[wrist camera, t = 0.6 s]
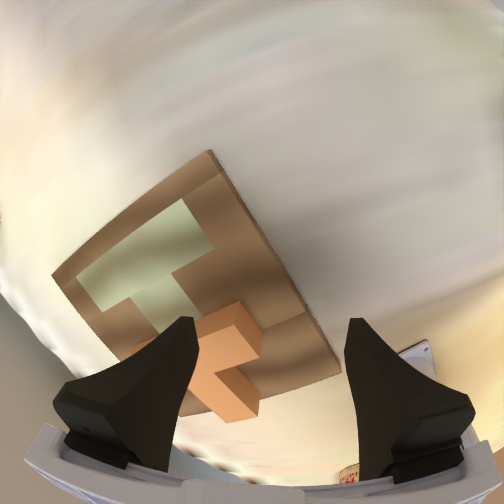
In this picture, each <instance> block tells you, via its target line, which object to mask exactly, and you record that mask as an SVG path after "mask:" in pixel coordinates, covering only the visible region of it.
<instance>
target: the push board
mask: <svg viewBox="0 0 504 504" xmlns="http://www.w3.org/2000/svg"><path fill="white" fill-rule="evenodd" d="M51 276H52V277H53V279H54V280H55V282H56V283H57V285H58V286H59V287H60V289H61V290H62V292H63V293H64V294H65V296H66V297H67V298H68V300H69V301H70V302H71V304H72V305H73V306H74V308H75V309H76V310H77V312H78V313H79V314H80V315H81V317H82V318H83V319H84V320H85V322H86V323H87V324H88V325H89V326H90V328H91V329H92V330H93V331H94V332H95V334H96V335H97V336H98V337H99V338H100V339H101V341H102V342H103V343H104V344H105V345H106V346H107V347H108V348H109V350H110V351H111V352H112V353H113V354H114V355H115V356H116V357H117V358H118V359H119V360H120V361H123V360H125V359H126V358H128V357H130V355H131V353H132V352H133V350H134V348H135V347H136V345H138V344H140V343H143V342H145V341H147V340H150V339H152V338H155V337H157V336H158V335H160V334H161V333H162V332H163V331H164V330H165V329H167V328H168V327H169V326H170V325H171V324H172V323H173V322H175V321H176V320H177V319H178V318H179V317H181V316H189V317H193V318H194V321H195V320H197V319H200V318H202V317H204V316H206V315H209V314H211V313H213V312H216V311H218V310H220V309H222V308H225V307H227V306H229V305H231V304H233V303H236V302H238V301H240V302H241V304H242V305H243V306H244V308H245V309H246V311H247V312H248V313H249V315H250V316H251V317H252V319H253V320H254V322H255V323H256V324H257V326H258V327H259V328H260V330H261V331H262V340H261V350H260V358H257V359H254V360H251V361H248V362H245V363H242V364H239V365H236V367H237V368H238V370H239V371H240V372H241V373H242V374H243V375H244V376H245V377H246V378H247V380H248V381H249V382H250V383H251V384H252V385H253V386H254V387H255V388H256V389H257V390H258V391H259V393H260V399H259V400H261V399H265V398H268V397H272V396H275V395H278V394H282V393H285V392H288V391H291V390H294V389H298V388H301V387H304V386H306V385H309V384H312V383H315V382H318V381H321V380H323V379H326V378H329V377H332V376H334V375H337V374H339V373H342V371H341V365H340V363H339V361H338V359H337V357H336V356H335V354H334V352H333V350H332V349H331V347H330V345H329V344H328V342H327V340H326V338H325V337H324V335H323V333H322V332H321V330H320V328H319V326H318V325H317V323H316V321H315V320H314V318H313V316H312V315H311V313H310V311H309V309H308V308H307V306H306V304H305V303H304V301H303V299H302V298H301V296H300V294H299V293H298V291H297V289H296V288H295V286H294V284H293V283H292V281H291V279H290V278H289V276H288V274H287V273H286V271H285V269H284V268H283V266H282V264H281V263H280V261H279V259H278V258H277V256H276V254H275V253H274V251H273V249H272V248H271V246H270V244H269V243H268V241H267V239H266V238H265V236H264V235H263V233H262V231H261V230H260V228H259V226H258V225H257V223H256V221H255V220H254V218H253V217H252V215H251V213H250V212H249V210H248V209H247V207H246V205H245V204H244V202H243V200H242V199H241V197H240V196H239V194H238V192H237V191H236V189H235V188H234V186H233V184H232V183H231V181H230V180H229V178H228V176H227V175H226V173H225V172H224V170H223V168H222V167H221V165H220V164H219V162H218V161H217V159H216V157H215V156H214V154H213V153H212V151H211V150H208V151H205V152H204V153H202V154H201V155H199V156H198V157H196V158H195V159H193V160H192V161H190V162H189V163H187V164H186V165H185V166H183V167H182V168H180V169H179V170H177V171H176V172H174V173H173V174H172V175H170V176H169V177H167V178H166V179H165V180H163V181H162V182H161V183H159V184H158V185H156V186H155V187H154V188H152V189H151V190H150V191H148V192H147V193H146V194H144V195H143V196H142V197H140V198H139V199H138V200H137V201H135V202H134V203H133V204H131V205H130V206H129V207H128V208H126V209H125V210H124V211H123V212H121V213H120V214H119V215H118V216H116V217H115V218H114V219H113V220H112V221H110V222H109V223H108V224H107V225H106V226H104V227H103V228H102V229H101V230H100V231H99V232H97V233H96V234H95V235H94V236H93V237H92V238H90V239H89V240H88V241H87V242H86V243H85V244H84V245H83V246H81V247H80V248H79V249H78V250H77V251H76V252H75V253H74V254H73V255H72V256H71V257H69V258H68V259H67V260H66V261H65V262H64V263H63V264H62V265H61V266H60V267H59V268H58V269H57V270H56V271H55V272H54V273H53V274H52V275H51ZM211 411H212V410H211V409H210V408H209V407H207V406H206V405H205V404H204V403H203V402H202V401H201V400H200V399H199V398H198V397H197V396H195V395H194V394H193V393H192V392H191V391H190V390H189V389H188V388H187V391H186V394H185V396H184V399H183V401H182V404H181V407H180V410H179V414H178V416H179V417H185V416H190V415H196V414H201V413H206V412H211Z"/></svg>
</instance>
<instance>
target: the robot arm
mask: <svg viewBox="0 0 504 504" xmlns="http://www.w3.org/2000/svg"><path fill="white" fill-rule="evenodd" d="M425 348H426V349H425ZM199 350H200V348H199V343H198V338H197V333H196V328H195V323H194V318H193V317H189V316H181V317H179V318H178V319H177V320H176V321H175V322H173V323H172V324H171V325H170V326H169V327H168V328H167V329H165V330H164V331H163V332H162V333H161V334H160V335H158V336H157V337H156V338H155V339H154V340H152V341H151V342H150V343H148V344H147V345H146V346H144V347H143V348H142V349H140V350H139V351H137V352H136V353H135V354H133V355H131V356H130V357H128V358H126V359H125V360H123V361H121V362H120V363H118V364H116V365H113V366H111V367H109V368H107V369H105V370H103V371H101V372H98V373H96V374H93V375H90V376H87V377H84V378H81V379H77V380H73V381H70V382H66V383H65V384H64V386H63V387H62V388H61V390H60V391H59V393H58V394H57V396H56V397H55V399H54V400H53V406H54V409H55V411H56V412H57V414H58V415H59V416H60V418H61V419H62V420H63V421H64V423H65V424H66V425H67V426H68V427H69V429H70V431H69V433H68V434H67V433H65V432H64V431H62V430H61V429H59V428H56V427H54V426H52V425H50V424H48V423H45V424H44V425H43V427H42V428H41V430H40V432H39V433H38V435H37V436H36V438H35V440H34V441H33V443H32V445H31V446H30V448H29V450H28V451H27V453H26V455H25V456H24V460H25V461H26V462H27V463H28V464H29V465H30V466H32V467H33V468H34V469H35V470H36V471H38V472H39V473H40V474H41V475H42V476H44V477H45V478H46V479H48V480H49V481H50V482H52V483H53V484H54V485H56V486H58V487H60V488H61V489H63V490H65V491H67V492H69V493H70V494H72V495H74V496H76V497H78V498H80V499H82V500H84V501H85V502H87V503H89V504H480V503H481V502H482V501H483V499H484V498H485V496H486V495H487V494H488V493H490V492H491V491H492V490H494V489H495V488H497V487H498V486H499V485H501V483H502V479H501V476H500V473H499V470H498V467H497V464H496V461H495V458H494V456H493V453H492V450H491V448H490V445H489V442H488V440H484V441H482V442H480V441H479V439H478V437H477V434H476V432H475V430H474V428H473V426H472V424H471V422H472V421H473V419H474V417H475V414H476V413H475V409H474V407H473V405H472V403H471V401H470V399H469V397H468V395H467V394H464V393H461V392H459V391H456V390H453V389H451V388H448V387H446V386H444V385H442V384H440V383H438V380H437V378H436V376H435V371H434V365H433V359H432V354H431V348H430V344H429V342H428V341H423V342H421V343H420V344H418V345H416V346H414V347H412V348H410V349H408V350H406V351H404V352H402V353H400V354H397V353H396V352H395V351H393V350H392V349H391V348H390V347H389V346H388V345H387V344H386V343H385V342H384V341H383V340H382V339H381V337H380V336H379V335H378V334H377V333H376V332H375V331H374V330H373V329H372V328H371V326H370V325H369V324H368V323H367V322H366V321H365V320H364V319H363V318H350V322H349V328H348V333H347V338H346V344H345V349H344V357H345V365H346V372H347V376H348V380H349V384H350V388H351V392H352V396H353V401H354V405H355V410H356V416H357V426H358V440H359V482H352V483H344V484H334V485H321V486H295V487H289V486H276V485H253V484H240V483H229V482H220V481H213V480H207V479H195V478H189V477H184V476H179V475H174V474H170V473H168V466H169V458H170V452H171V447H172V441H173V436H174V431H175V427H176V422H177V418H178V414H179V410H180V407H181V404H182V401H183V399H184V396H185V394H186V391H187V388H188V386H189V383H190V381H191V378H192V375H193V373H194V370H195V367H196V364H197V360H198V355H199Z"/></svg>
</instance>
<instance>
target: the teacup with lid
mask: <svg viewBox="0 0 504 504" xmlns="http://www.w3.org/2000/svg"><path fill="white" fill-rule="evenodd" d="M339 477H340V484H344V483H352V482H359V464H356V465H353V466H351V467H348V468H346V469H345V470H343V471H342V472H341V473H340V475H339Z"/></svg>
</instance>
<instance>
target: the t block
mask: <svg viewBox="0 0 504 504" xmlns="http://www.w3.org/2000/svg"><path fill="white" fill-rule="evenodd" d="M194 323H195V328H196V333H197V338H198V343H199V348H200V350H199V355H198V360H197V364H196V367H195V370H194V373H193V375H192V378H191V381H190V383H189V386H188V389H189V390H190V391H191V392H192V393H193V394H194V395H195V396H197V397H198V398H199V399H200V400H201V401H202V402H203V403H204V404H205V405H206V406H207V407H209V408H210V409H211V410H212V411H213V412H214V413H215V414H217V415H218V416H219V417H220V418H221V419H222V420H224V421H225V422H226V423H231V422H236V421H241V420H245V419H250V418H254V417H258V409H259V399H260V393H259V391H258V390H257V389H256V388H255V387H254V386H253V385H252V384H251V383H250V382H249V381H248V380H247V378H246V377H245V376H244V375H243V374H242V373H241V372H240V371H239V370H238V368H237V367H236V365H239V364H242V363H245V362H248V361H251V360H254V359H257V358H260V350H261V340H262V331H261V330H260V328H259V327H258V326H257V324H256V323H255V322H254V320H253V319H252V317H251V316H250V315H249V313H248V312H247V311H246V309H245V308H244V306H243V305H242V304H241V302H240V301H238V302H236V303H233V304H231V305H229V306H227V307H225V308H222V309H220V310H218V311H216V312H213V313H211V314H209V315H206V316H204V317H202V318H200V319H197V320H195V321H194ZM155 338H156V337H155ZM155 338H152V339H150V340H147V341H145V342H143V343H140V344H138V345H136V347H135V348H134V350H133V352H132V353H131V355H133V354H135V353H136V352H137V351H139V350H140V349H142V348H143V347H144V346H146V345H147V344H148V343H150V342H151V341H152V340H154V339H155ZM131 355H130V356H131Z"/></svg>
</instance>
